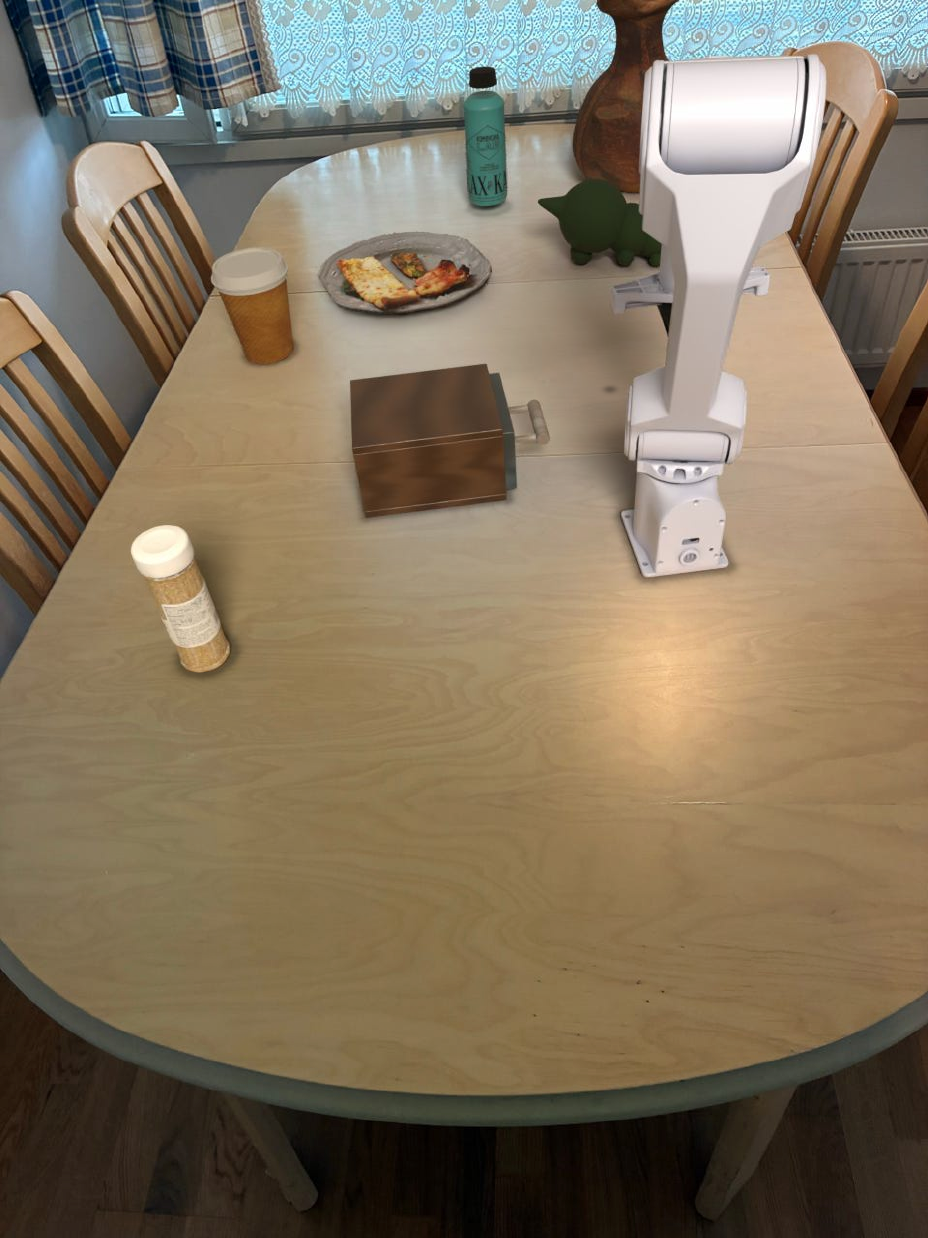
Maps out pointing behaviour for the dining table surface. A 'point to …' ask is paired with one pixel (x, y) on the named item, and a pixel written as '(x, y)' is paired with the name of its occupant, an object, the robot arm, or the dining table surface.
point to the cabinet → (427, 440)
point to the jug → (620, 95)
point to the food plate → (404, 272)
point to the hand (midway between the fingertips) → (680, 369)
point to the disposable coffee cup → (256, 301)
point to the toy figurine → (601, 223)
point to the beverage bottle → (485, 140)
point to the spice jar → (181, 596)
